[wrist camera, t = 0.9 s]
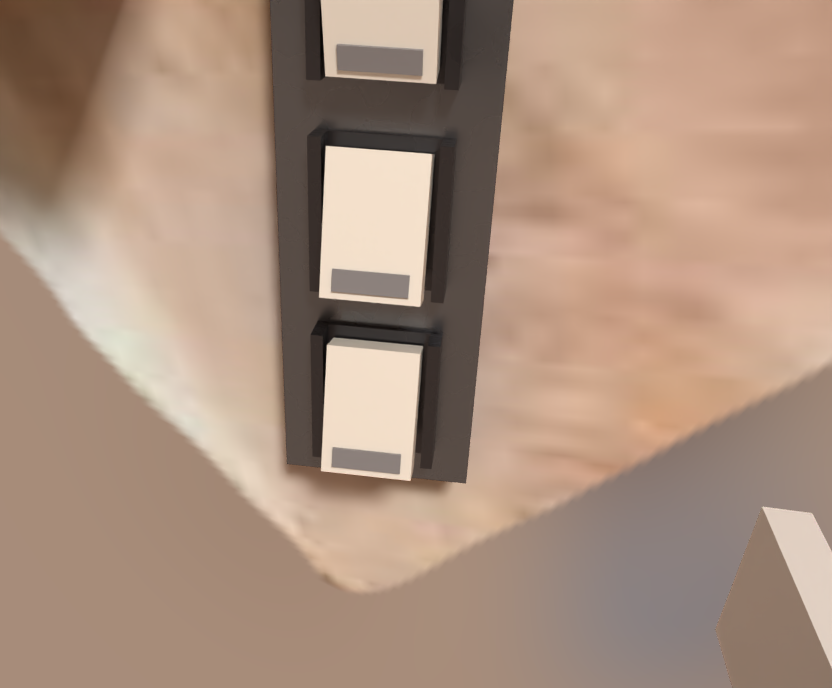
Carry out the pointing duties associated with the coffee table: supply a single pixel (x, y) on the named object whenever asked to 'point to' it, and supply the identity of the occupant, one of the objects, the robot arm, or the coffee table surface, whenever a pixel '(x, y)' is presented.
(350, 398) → the rocker
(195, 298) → the coffee table surface
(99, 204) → the coffee table surface
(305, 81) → the rocker switch panel
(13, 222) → the coffee table surface
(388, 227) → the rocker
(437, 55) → the rocker
